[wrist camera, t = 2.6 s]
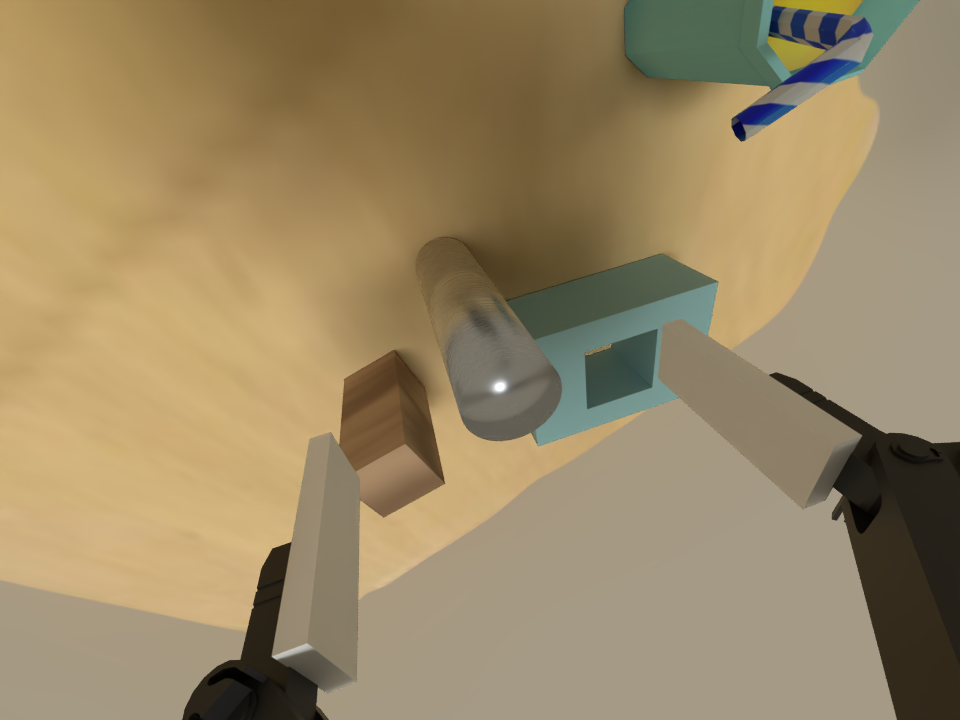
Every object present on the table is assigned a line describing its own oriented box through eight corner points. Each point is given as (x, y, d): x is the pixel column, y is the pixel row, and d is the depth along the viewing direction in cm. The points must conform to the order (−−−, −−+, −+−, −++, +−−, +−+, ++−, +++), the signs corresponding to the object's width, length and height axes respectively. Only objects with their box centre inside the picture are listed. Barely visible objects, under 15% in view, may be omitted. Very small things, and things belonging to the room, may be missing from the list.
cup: (581, 174, 25) (781, 236, 13) (519, 54, 21) (734, -21, 9) (771, 10, 23) (1237, -102, 11) (745, -166, 18) (1491, -701, 6)
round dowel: (408, 246, 25) (448, 377, 13) (465, 230, 25) (558, 342, 13) (425, 300, 27) (472, 453, 15) (477, 284, 28) (565, 421, 15)
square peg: (344, 378, 29) (336, 482, 21) (393, 350, 29) (405, 443, 21) (378, 413, 32) (383, 517, 24) (424, 387, 31) (445, 483, 23)
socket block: (495, 304, 29) (521, 343, 24) (661, 253, 30) (718, 281, 25) (514, 399, 35) (538, 446, 30) (652, 353, 36) (697, 392, 31)
